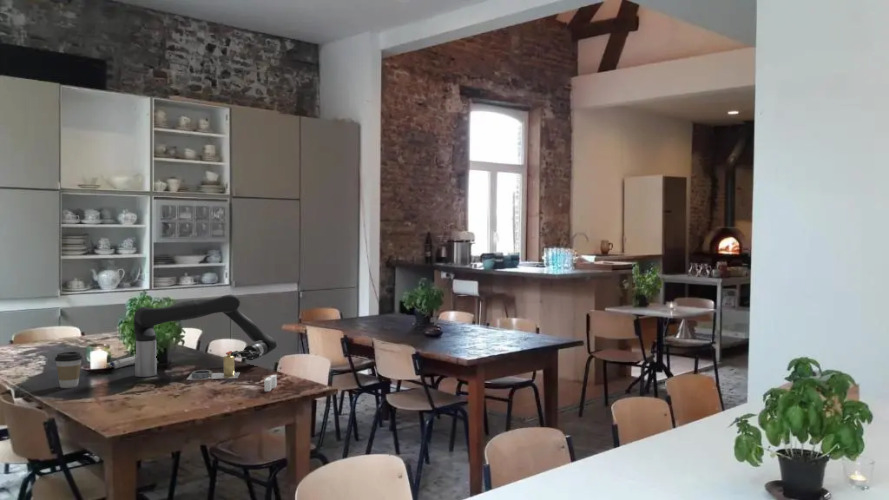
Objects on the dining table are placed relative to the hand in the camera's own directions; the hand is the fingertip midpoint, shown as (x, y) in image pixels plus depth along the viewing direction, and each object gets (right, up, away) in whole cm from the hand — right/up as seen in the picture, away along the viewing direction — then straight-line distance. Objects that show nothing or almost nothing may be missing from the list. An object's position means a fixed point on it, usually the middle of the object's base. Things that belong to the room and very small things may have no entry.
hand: (239, 357), depth 359 cm
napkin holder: (+23, -10, -30) cm, 40 cm away
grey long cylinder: (-61, -8, +21) cm, 65 cm away
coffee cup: (-69, -9, -29) cm, 76 cm away
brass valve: (-2, -7, -11) cm, 13 cm away
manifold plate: (-9, -9, -12) cm, 17 cm away
